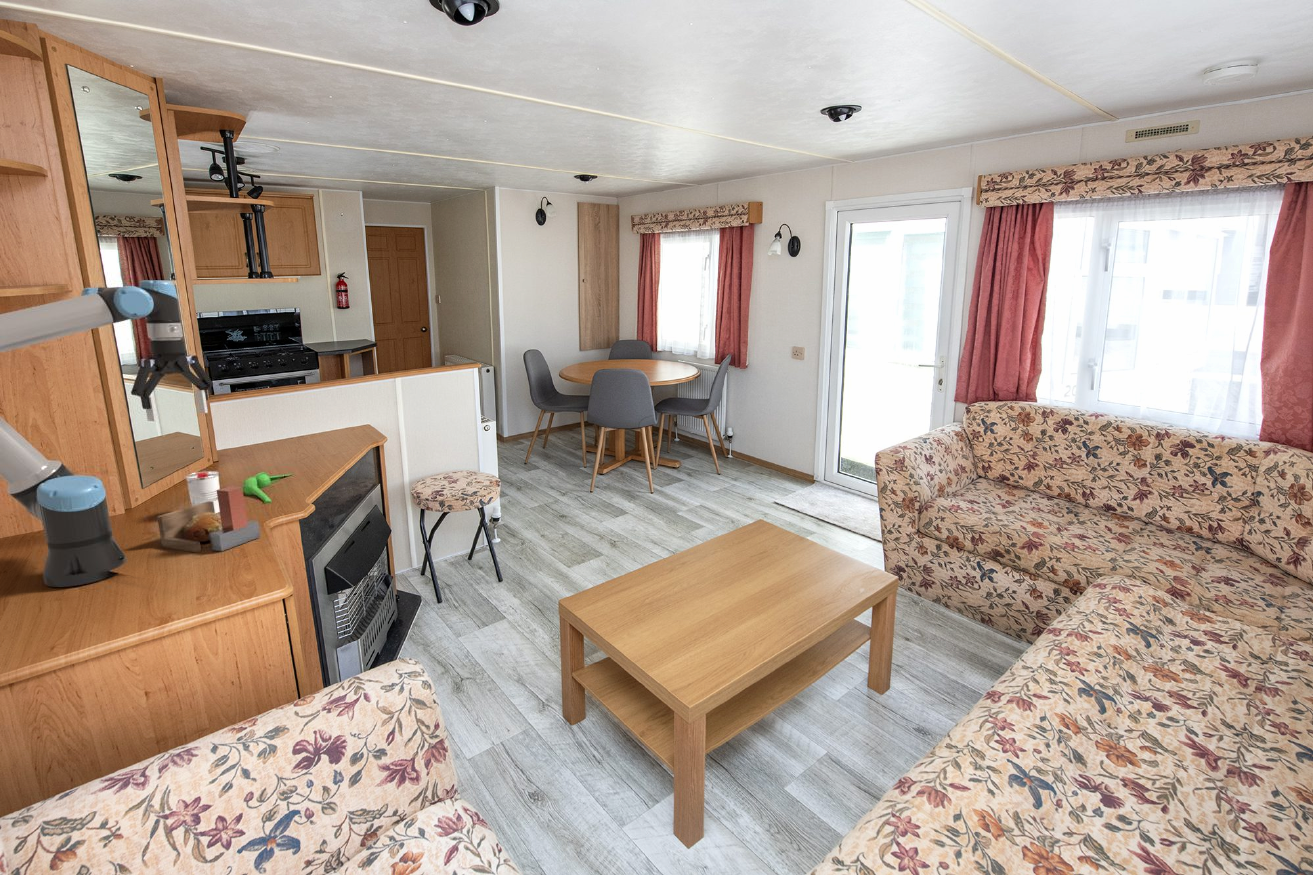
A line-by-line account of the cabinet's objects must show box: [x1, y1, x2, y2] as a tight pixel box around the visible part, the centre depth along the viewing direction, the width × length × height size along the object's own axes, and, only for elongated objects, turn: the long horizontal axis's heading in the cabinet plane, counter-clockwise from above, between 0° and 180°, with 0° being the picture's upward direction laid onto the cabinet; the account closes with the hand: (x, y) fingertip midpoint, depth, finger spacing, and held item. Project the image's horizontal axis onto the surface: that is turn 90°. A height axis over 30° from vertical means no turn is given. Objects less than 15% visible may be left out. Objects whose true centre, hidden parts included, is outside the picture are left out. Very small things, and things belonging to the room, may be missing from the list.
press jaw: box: [209, 485, 261, 552], centre depth 167 cm, size 11×4×15 cm, turn 161°
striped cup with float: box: [184, 470, 221, 514], centre depth 194 cm, size 10×8×12 cm
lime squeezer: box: [241, 472, 292, 504], centre depth 217 cm, size 34×12×6 cm, turn 15°
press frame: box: [156, 501, 215, 553], centre depth 172 cm, size 15×14×8 cm
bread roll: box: [184, 512, 222, 543], centre depth 172 cm, size 10×10×8 cm
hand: (178, 416), depth 177 cm, fingers open, 13 cm apart
